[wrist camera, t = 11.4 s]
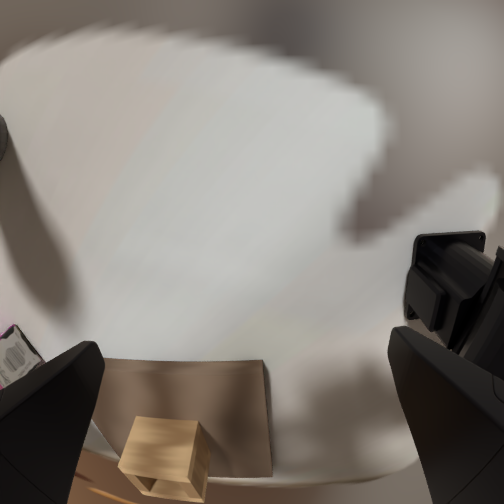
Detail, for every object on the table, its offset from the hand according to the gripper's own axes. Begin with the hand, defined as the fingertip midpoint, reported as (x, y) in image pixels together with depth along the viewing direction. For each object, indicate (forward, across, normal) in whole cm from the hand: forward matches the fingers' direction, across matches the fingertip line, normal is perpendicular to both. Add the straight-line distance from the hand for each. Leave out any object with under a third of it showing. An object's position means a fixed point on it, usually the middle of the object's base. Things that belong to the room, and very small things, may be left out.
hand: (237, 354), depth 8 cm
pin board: (+11, +9, +19) cm, 24 cm away
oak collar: (+10, +9, +19) cm, 23 cm away
